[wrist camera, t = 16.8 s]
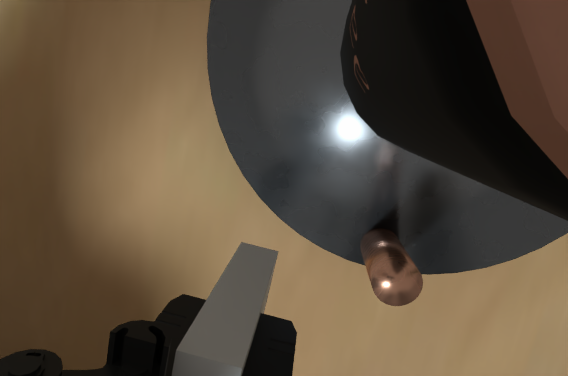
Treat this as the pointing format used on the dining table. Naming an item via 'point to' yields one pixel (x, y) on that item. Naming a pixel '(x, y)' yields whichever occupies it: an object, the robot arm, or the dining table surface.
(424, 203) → the disc
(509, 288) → the dining table surface
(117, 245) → the dining table surface
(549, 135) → the coffee jar
